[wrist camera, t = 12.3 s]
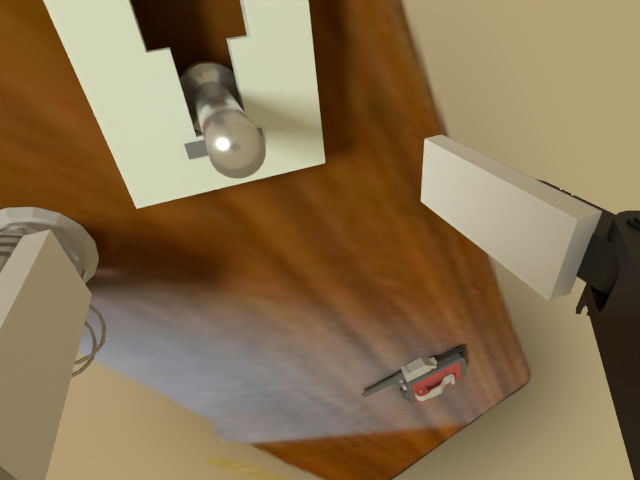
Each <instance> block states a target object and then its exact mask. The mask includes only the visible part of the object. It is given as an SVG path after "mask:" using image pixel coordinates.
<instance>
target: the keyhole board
mask: <svg viewBox="0 0 640 480" xmlns="http://www.w3.org/2000/svg"><path fill="white" fill-rule="evenodd" d="M43 1H44V3H45V5H46V7H47V10H48V12H49V14H50V16H51V19H52V21H53V23H54V25H55V28H56V30H57V32H58V34H59V36H60V39H61V41H62V43H63V45H64V48H65V50H66V52H67V54H68V57H69V59H70V61H71V63H72V65H73V68H74V70H75V72H76V74H77V77H78V79H79V81H80V83H81V86H82V88H83V90H84V92H85V94H86V97H87V99H88V101H89V103H90V106H91V108H92V110H93V112H94V115H95V117H96V119H97V121H98V124H99V126H100V128H101V130H102V132H103V135H104V137H105V139H106V141H107V144H108V146H109V148H110V150H111V153H112V155H113V157H114V159H115V161H116V164H117V166H118V168H119V170H120V173H121V175H122V177H123V179H124V182H125V184H126V186H127V188H128V190H129V193H130V195H131V197H132V199H133V202H134V204H135V206H136V208H141V207H145V206H150V205H154V204H158V203H162V202H166V201H170V200H174V199H179V198H183V197H187V196H191V195H195V194H199V193H203V192H208V191H212V190H216V189H220V188H224V187H228V186H232V185H237V184H241V183H245V182H249V181H253V180H257V179H261V178H266V177H270V176H274V175H278V174H282V173H286V172H290V171H295V170H299V169H303V168H307V167H311V166H315V165H319V164H324V163H325V155H324V145H323V135H322V126H321V116H320V106H319V97H318V87H317V78H316V68H315V58H314V49H313V39H312V29H311V20H310V10H309V1H308V0H240V2H241V8H242V13H243V18H244V23H245V28H246V34H247V35H246V36H240V37H233V38H227V43H228V48H229V52H230V57H231V61H232V66H233V70H234V75H235V79H236V84H237V88H238V93H239V97H240V102H241V106H242V110H243V111H244V113H245V114H246V115H247V117H248V118H249V119H250V121H251V122H252V124H253V125H254V126H255V128H256V129H257V130H258V132H259V133H260V135H261V136H262V138H263V140H264V142H265V146H266V156H265V160H264V162H263V164H262V166H261V167H260V169H259V170H258V171H257V172H255V173H254V174H252V175H251V176H248V177H245V178H240V179H235V178H229V177H226V176H224V175H222V174H221V173H219V172H218V171H217V170H216V169H215V168H214V166H213V165H212V163H211V161H210V158H209V155H208V151H207V148H206V144H205V140H204V137H203V133H202V131H197V132H195V130H194V126H193V123H192V120H191V116H190V113H189V110H188V106H187V103H186V100H185V97H184V93H183V90H182V87H181V83H180V80H179V77H178V73H177V70H176V67H175V63H174V60H173V57H172V54H171V50H170V47H168V48H161V49H155V50H148V51H147V48H146V45H145V42H144V39H143V36H142V33H141V30H140V27H139V24H138V22H137V19H136V16H135V13H134V10H133V7H132V4H131V1H130V0H43Z"/></svg>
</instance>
